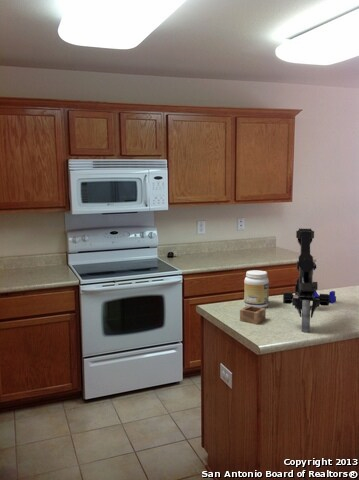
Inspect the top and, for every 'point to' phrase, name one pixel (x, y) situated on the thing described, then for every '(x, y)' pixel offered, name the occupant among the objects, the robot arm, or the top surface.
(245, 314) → the walnut square holder
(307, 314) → the slate dowel
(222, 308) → the top surface
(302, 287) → the robot arm
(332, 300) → the cable clip
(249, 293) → the supplement tub
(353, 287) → the top surface
